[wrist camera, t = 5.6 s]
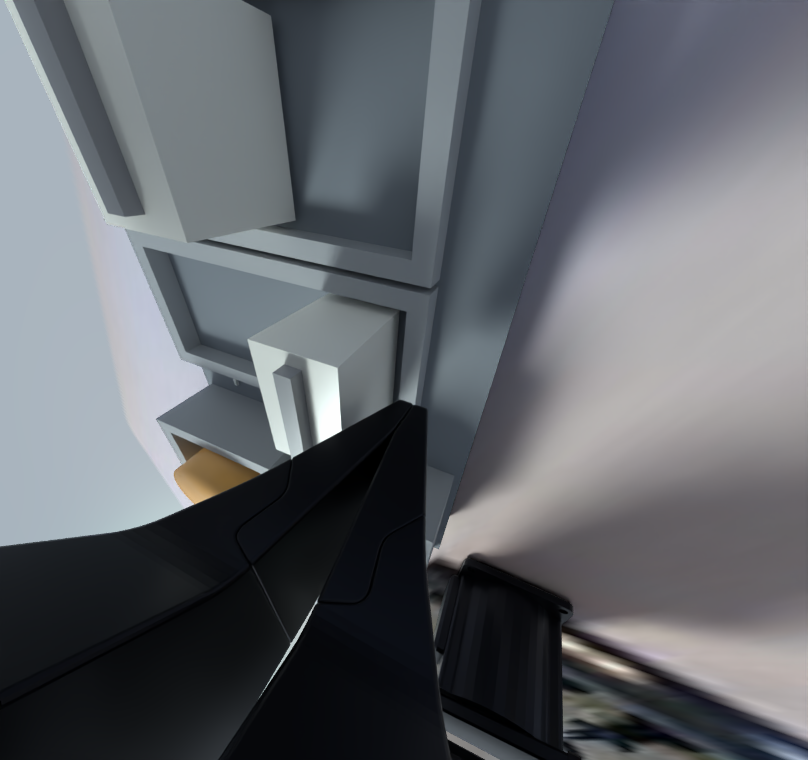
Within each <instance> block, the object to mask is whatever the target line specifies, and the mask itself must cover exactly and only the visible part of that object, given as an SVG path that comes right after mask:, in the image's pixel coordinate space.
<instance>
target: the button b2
mask: <svg viewBox="0 0 808 760" xmlns="http://www.w3.org/2000/svg"><path fill="white" fill-rule="evenodd" d="M258 475H260V473H258V472H256V471H254V470H252V469H250V468H247V467H245V466H243V465H241V464H239V463H237V462H234V461H232V460H230V459H228V458H226V457H223V456H221V455H219V454H217V453H215V452H212V451H210V450H208V449H206V448H203V449H201V450H200V451H199V452H198V453H196V454H195V455H194V456H193V457H191V458H190V459H189V460H188V461H186V462H185V463H184V464H183V465H181V466H180V467H179V468H178V469H176V470H175V471H174V478H175V481H176V483H177V484H178V486H179V487H180V489H181V490H182V491H183V493H184V494H185V495H186V496H187V497H188V498H189V499H190V500H191V501H192V502H193V503H194V504H197V503H199V502H201V501H203V500H206V499H208V498H210V497H212V496H215V495H217V494H219V493H222V492H224V491H226V490H228V489H231V488H233V487H235V486H237V485H239V484H241V483H244V482H246V481H248V480H250V479H252V478H254V477H256V476H258Z"/></svg>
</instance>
